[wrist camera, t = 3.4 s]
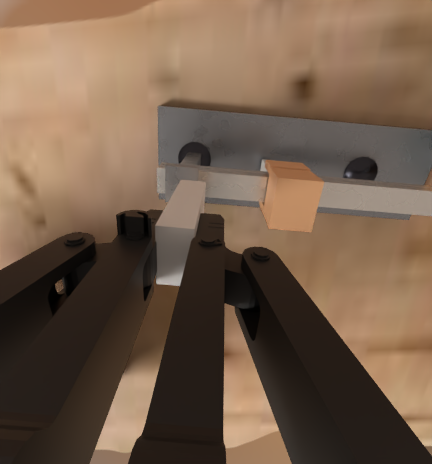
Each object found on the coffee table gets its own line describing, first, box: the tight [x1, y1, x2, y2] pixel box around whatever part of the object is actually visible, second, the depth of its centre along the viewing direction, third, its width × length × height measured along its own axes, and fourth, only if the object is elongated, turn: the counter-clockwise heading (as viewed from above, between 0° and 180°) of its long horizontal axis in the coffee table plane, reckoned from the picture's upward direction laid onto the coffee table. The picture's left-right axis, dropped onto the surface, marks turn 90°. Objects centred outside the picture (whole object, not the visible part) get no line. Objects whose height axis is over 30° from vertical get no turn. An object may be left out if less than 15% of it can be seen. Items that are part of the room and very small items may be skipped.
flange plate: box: [158, 106, 432, 220], centre depth 30 cm, size 30×10×1 cm, turn 86°
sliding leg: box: [259, 159, 324, 232], centre depth 24 cm, size 3×4×12 cm
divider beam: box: [157, 152, 432, 216], centre depth 25 cm, size 26×3×11 cm, turn 86°
